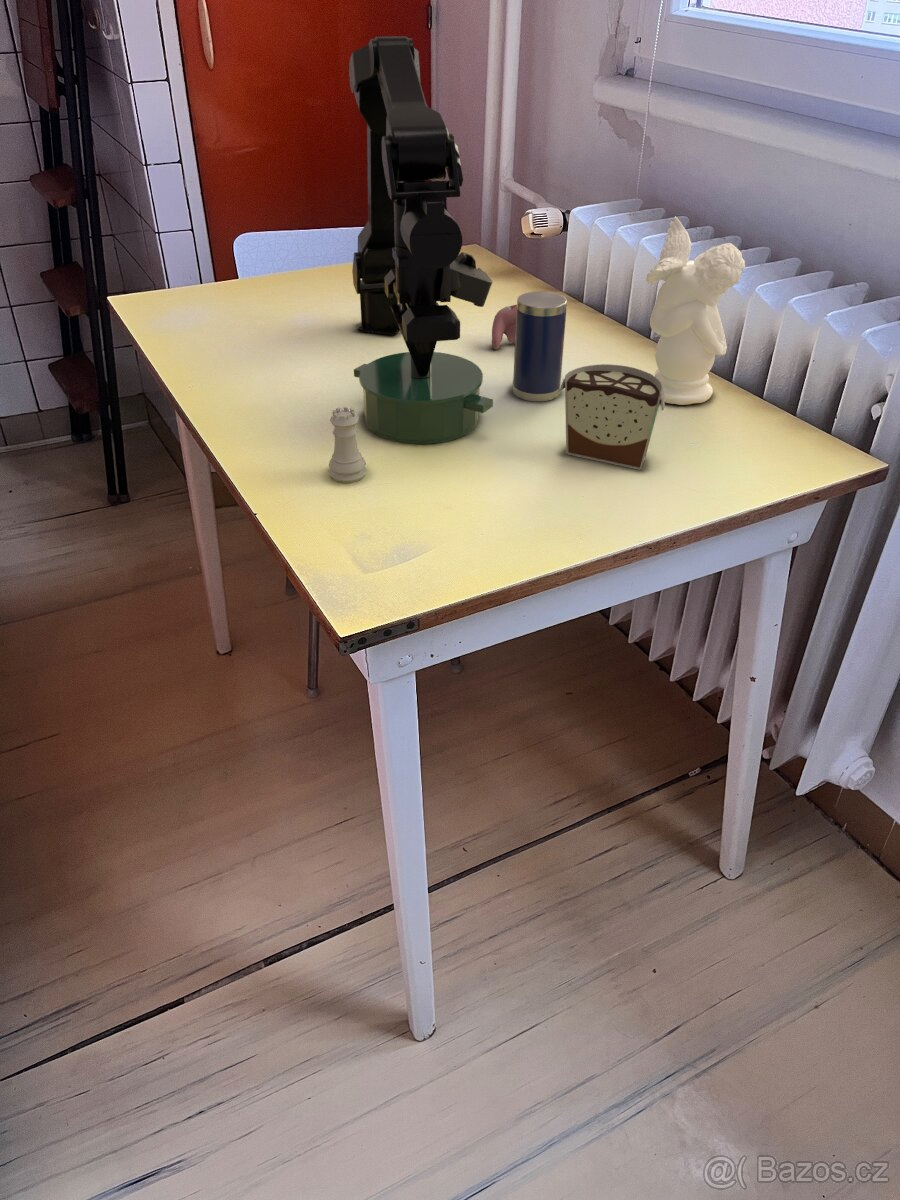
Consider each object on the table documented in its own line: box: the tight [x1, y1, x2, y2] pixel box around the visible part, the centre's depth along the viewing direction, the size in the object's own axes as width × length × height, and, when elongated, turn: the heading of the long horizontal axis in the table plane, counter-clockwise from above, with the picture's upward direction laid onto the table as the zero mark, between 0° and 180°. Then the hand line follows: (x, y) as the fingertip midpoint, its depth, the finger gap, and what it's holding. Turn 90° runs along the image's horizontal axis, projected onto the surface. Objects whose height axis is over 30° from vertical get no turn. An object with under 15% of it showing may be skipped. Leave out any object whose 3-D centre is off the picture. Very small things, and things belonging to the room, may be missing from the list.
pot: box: [353, 363, 494, 445], centre depth 120 cm, size 15×20×6 cm
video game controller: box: [491, 304, 517, 351], centre depth 141 cm, size 10×5×7 cm, turn 84°
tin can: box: [512, 291, 568, 403], centre depth 125 cm, size 6×6×13 cm
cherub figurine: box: [645, 215, 746, 406], centre depth 121 cm, size 12×12×22 cm
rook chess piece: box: [328, 406, 368, 484], centre depth 107 cm, size 4×4×8 cm
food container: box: [560, 363, 666, 471], centre depth 111 cm, size 12×6×10 cm, turn 65°
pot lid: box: [358, 351, 484, 405], centre depth 117 cm, size 16×16×6 cm
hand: (421, 370), depth 118 cm, fingers closed on pot lid, 3 cm apart
